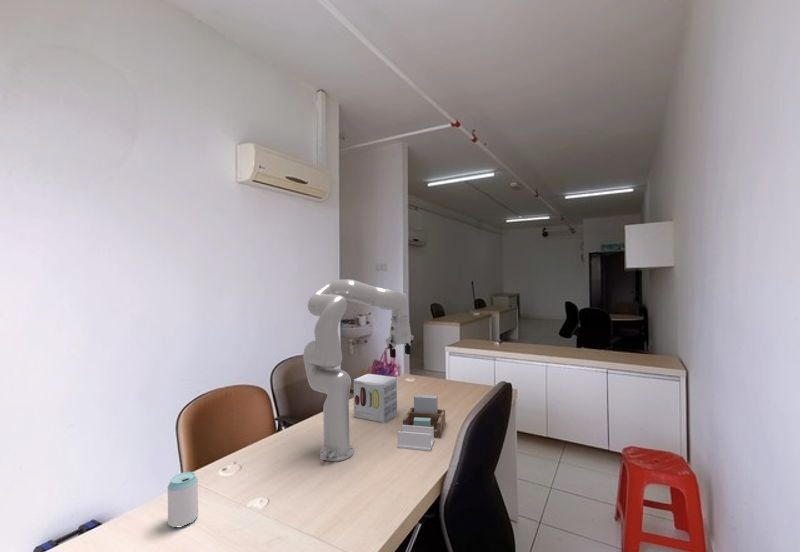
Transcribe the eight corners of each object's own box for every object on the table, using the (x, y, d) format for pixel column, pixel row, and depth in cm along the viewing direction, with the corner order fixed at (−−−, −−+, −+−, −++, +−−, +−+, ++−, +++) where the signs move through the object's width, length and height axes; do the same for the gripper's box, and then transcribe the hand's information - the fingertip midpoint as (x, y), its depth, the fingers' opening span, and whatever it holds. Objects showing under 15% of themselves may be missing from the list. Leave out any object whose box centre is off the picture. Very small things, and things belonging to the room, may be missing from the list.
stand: (430, 451, 137) (430, 435, 137) (397, 447, 140) (397, 432, 140) (434, 440, 146) (434, 426, 146) (403, 438, 149) (402, 423, 149)
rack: (440, 438, 148) (439, 422, 148) (402, 434, 152) (402, 419, 152) (445, 423, 163) (445, 408, 164) (411, 420, 167) (410, 406, 168)
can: (203, 512, 103) (202, 469, 103) (189, 529, 96) (188, 483, 96) (177, 513, 102) (177, 470, 103) (162, 530, 95) (161, 484, 96)
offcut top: (430, 428, 152) (430, 421, 152) (413, 427, 153) (413, 420, 153) (430, 425, 155) (430, 417, 155) (414, 424, 156) (414, 417, 156)
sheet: (436, 428, 158) (436, 398, 158) (414, 426, 161) (413, 397, 161) (438, 425, 162) (437, 395, 162) (416, 423, 164) (415, 394, 164)
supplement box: (353, 417, 173) (352, 379, 173) (368, 408, 184) (367, 373, 185) (384, 423, 165) (383, 383, 165) (398, 413, 176) (397, 376, 177)
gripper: (391, 321, 162) (392, 359, 162) (418, 318, 174) (418, 353, 173) (380, 320, 167) (381, 357, 167) (407, 317, 179) (407, 351, 179)
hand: (400, 355), depth 170 cm, fingers open, 9 cm apart
